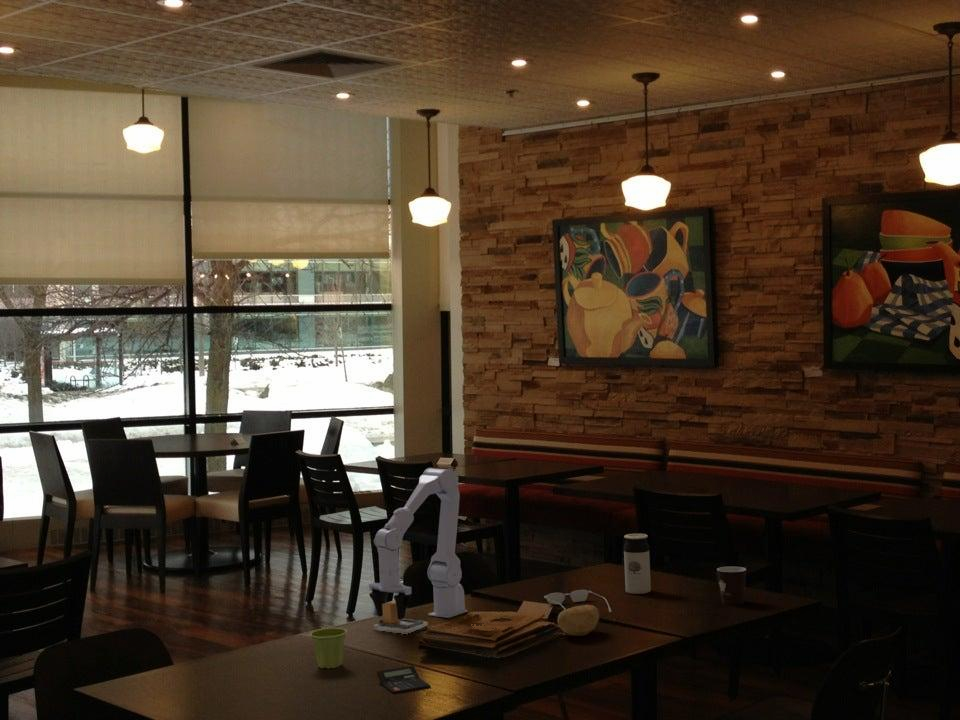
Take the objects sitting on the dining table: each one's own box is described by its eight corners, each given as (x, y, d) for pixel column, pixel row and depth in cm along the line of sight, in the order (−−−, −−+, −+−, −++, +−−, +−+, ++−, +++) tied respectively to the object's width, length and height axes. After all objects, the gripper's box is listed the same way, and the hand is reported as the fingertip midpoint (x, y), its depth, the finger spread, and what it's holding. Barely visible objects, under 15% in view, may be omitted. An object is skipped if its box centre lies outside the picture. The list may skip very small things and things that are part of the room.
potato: (610, 632, 325) (609, 603, 325) (577, 642, 315) (576, 613, 315) (582, 627, 332) (581, 599, 332) (550, 637, 322) (548, 608, 321)
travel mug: (633, 588, 380) (630, 532, 380) (655, 590, 376) (652, 534, 375) (621, 593, 374) (618, 536, 374) (643, 595, 369) (641, 538, 369)
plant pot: (318, 673, 296) (317, 638, 296) (306, 664, 304) (305, 631, 304) (353, 667, 300) (352, 633, 300) (340, 659, 309) (339, 626, 309)
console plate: (396, 622, 347) (396, 615, 347) (428, 627, 340) (427, 619, 340) (373, 630, 339) (373, 622, 339) (405, 634, 332) (405, 626, 331)
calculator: (393, 695, 275) (392, 682, 275) (377, 683, 286) (376, 670, 286) (430, 689, 279) (429, 676, 279) (413, 677, 290) (412, 665, 290)
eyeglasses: (590, 601, 366) (589, 588, 366) (614, 613, 349) (614, 599, 349) (544, 607, 361) (543, 594, 361) (566, 619, 344) (566, 605, 344)
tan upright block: (392, 619, 344) (391, 600, 344) (400, 620, 342) (399, 601, 342) (383, 622, 340) (382, 603, 340) (391, 623, 339) (390, 604, 339)
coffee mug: (750, 605, 350) (748, 571, 350) (721, 606, 350) (719, 572, 350) (742, 596, 361) (741, 564, 361) (714, 597, 362) (712, 565, 361)
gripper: (361, 570, 342) (363, 617, 342) (399, 574, 333) (401, 622, 334) (377, 566, 348) (379, 612, 348) (415, 570, 339) (417, 617, 339)
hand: (391, 617), depth 341 cm, fingers open, 7 cm apart
